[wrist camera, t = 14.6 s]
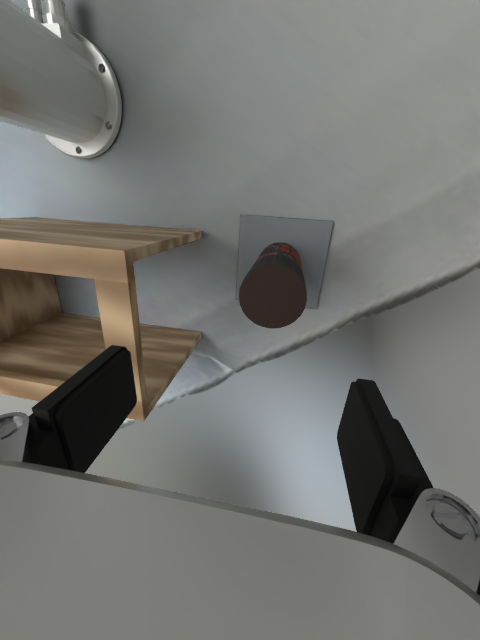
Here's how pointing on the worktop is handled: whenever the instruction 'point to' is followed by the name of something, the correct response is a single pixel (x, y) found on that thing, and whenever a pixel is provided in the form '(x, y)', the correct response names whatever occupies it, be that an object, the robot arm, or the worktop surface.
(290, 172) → the worktop surface
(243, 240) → the mat
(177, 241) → the cover
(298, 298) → the deodorant
